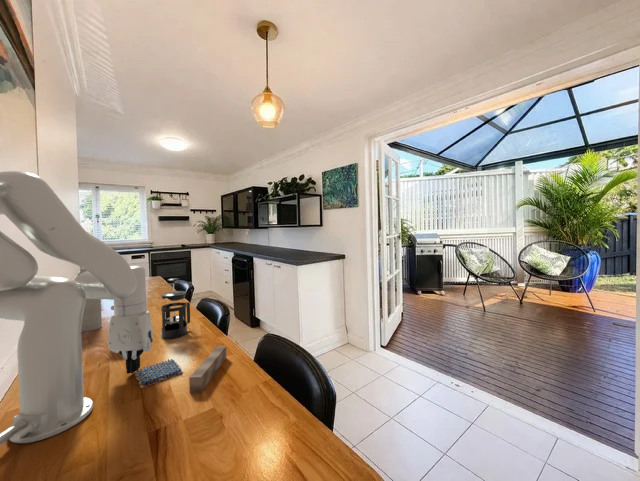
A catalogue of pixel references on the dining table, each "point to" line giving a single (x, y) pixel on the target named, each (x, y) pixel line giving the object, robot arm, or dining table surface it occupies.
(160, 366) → the woven mat
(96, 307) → the thermos bottle
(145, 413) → the dining table surface
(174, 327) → the french press
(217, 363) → the bar
